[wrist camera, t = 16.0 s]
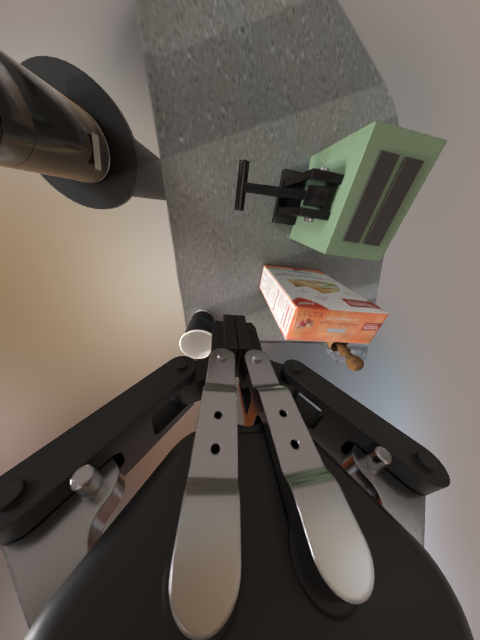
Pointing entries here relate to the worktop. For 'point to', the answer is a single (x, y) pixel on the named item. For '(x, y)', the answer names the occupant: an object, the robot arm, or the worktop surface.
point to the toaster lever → (277, 190)
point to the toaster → (368, 189)
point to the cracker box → (318, 307)
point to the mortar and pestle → (347, 355)
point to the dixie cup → (198, 335)
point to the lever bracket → (290, 208)
